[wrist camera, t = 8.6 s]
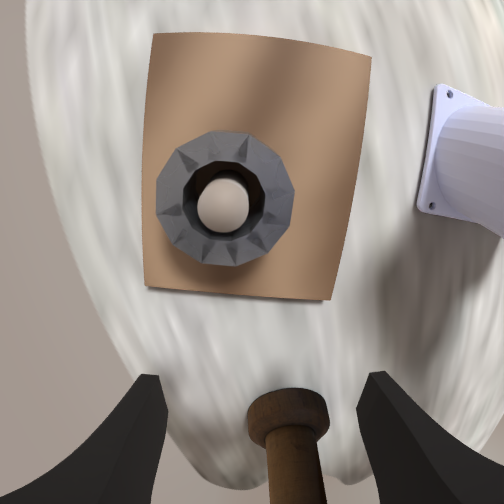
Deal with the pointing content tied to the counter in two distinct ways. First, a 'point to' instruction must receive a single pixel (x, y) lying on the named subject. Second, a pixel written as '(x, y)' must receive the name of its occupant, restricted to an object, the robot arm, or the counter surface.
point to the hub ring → (186, 197)
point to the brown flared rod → (291, 443)
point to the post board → (269, 132)
